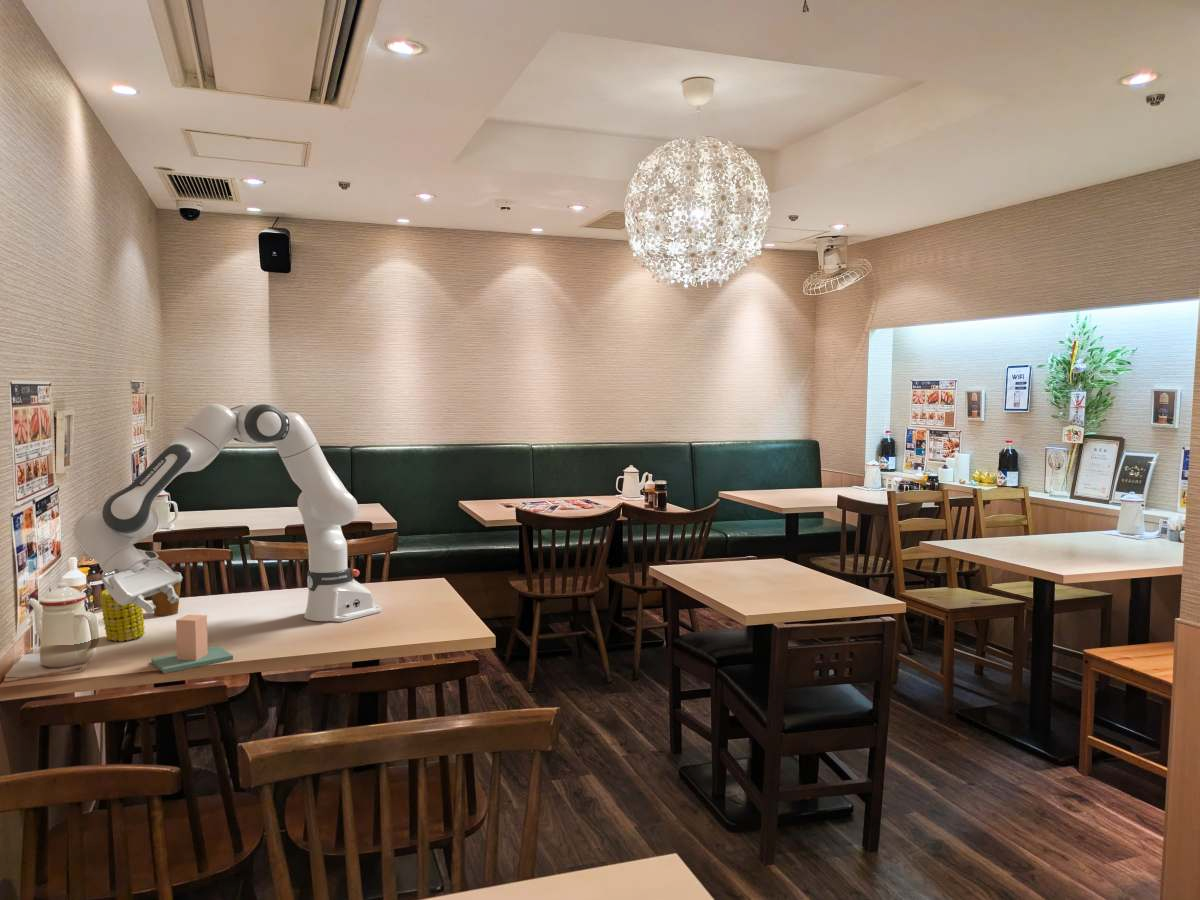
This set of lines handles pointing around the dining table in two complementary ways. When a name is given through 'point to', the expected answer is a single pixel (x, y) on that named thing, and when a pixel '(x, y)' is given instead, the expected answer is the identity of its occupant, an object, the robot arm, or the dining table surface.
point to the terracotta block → (191, 637)
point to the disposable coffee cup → (163, 604)
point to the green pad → (172, 664)
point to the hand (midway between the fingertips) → (164, 605)
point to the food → (121, 619)
